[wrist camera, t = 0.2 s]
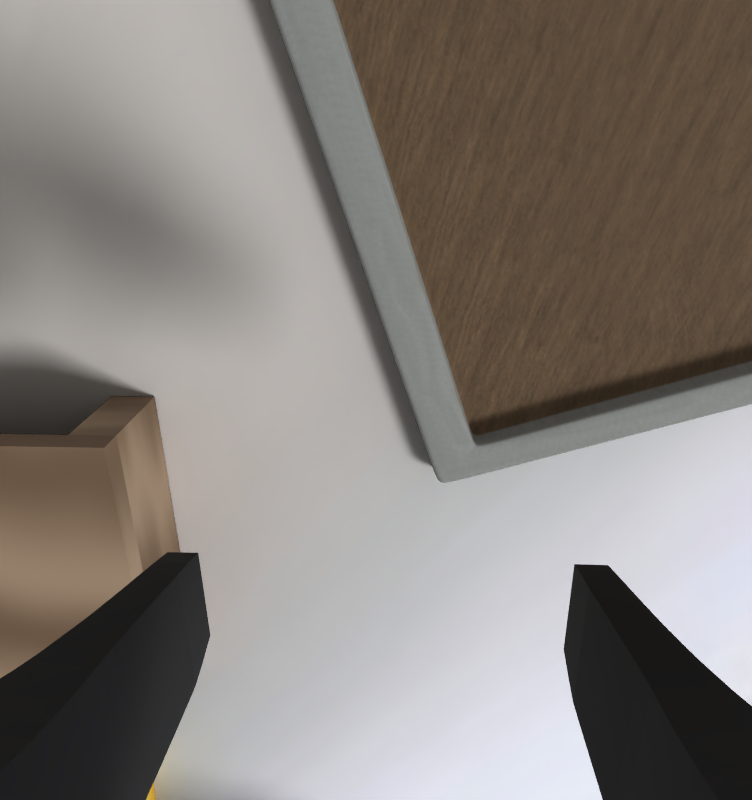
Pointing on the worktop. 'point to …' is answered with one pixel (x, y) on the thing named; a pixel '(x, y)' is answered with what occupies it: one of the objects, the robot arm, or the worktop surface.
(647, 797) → the robot arm
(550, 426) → the grey flat tray
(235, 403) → the worktop surface
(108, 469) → the low shelf
